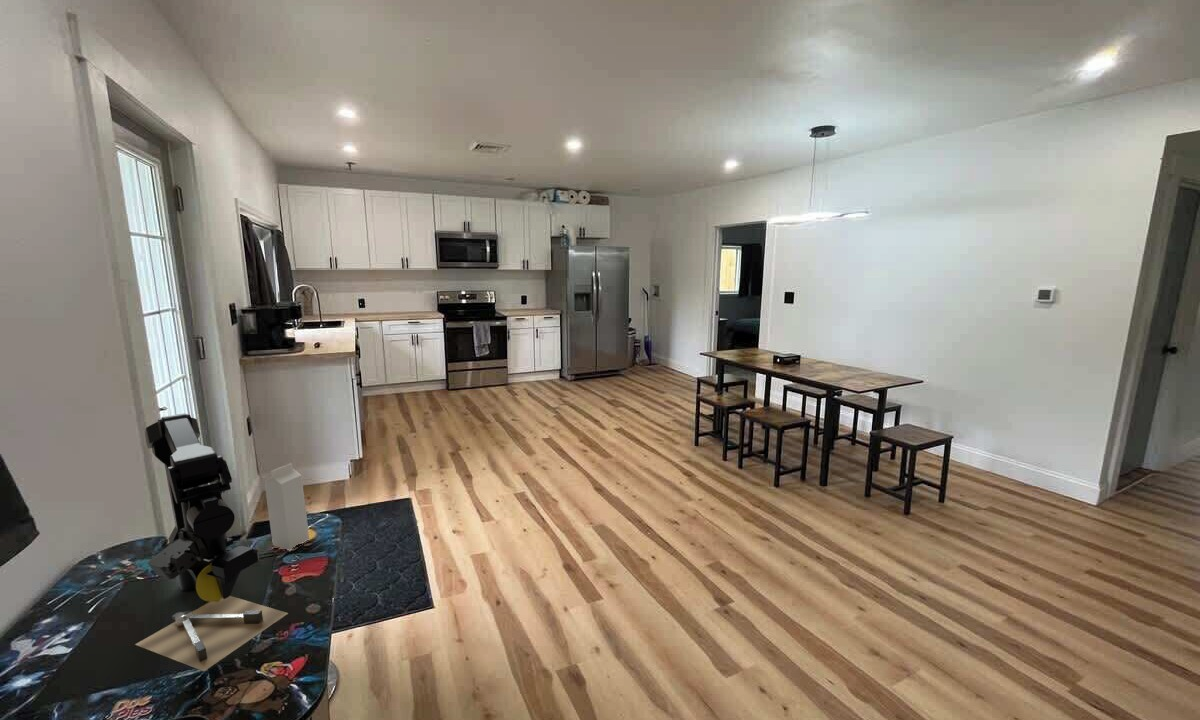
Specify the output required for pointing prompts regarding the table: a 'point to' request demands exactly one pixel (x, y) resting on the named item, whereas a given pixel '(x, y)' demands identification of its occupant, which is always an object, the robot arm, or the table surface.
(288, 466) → the milk
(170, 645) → the board
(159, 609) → the table surface
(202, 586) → the lemon
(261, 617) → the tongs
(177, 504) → the robot arm
